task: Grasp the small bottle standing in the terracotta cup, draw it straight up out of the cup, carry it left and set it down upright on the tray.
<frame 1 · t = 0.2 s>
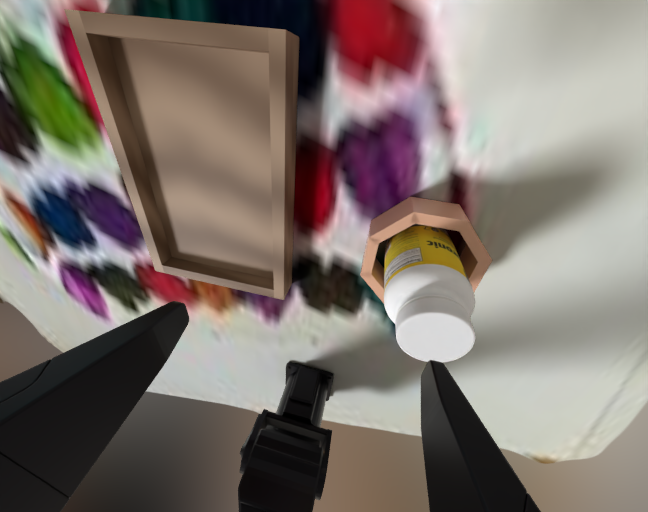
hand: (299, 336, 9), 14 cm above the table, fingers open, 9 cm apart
tray: (217, 179, 22), on the table
supplement bottle: (417, 246, 22), resting in cup
cup: (417, 248, 22), on the table
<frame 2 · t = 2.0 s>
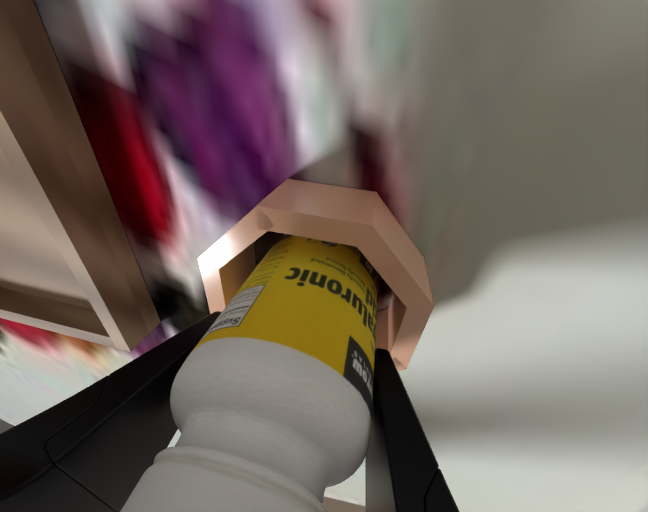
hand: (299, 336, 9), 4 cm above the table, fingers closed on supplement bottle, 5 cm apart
supplement bottle: (323, 269, 13), resting in cup, touching gripper
cup: (322, 271, 12), on the table
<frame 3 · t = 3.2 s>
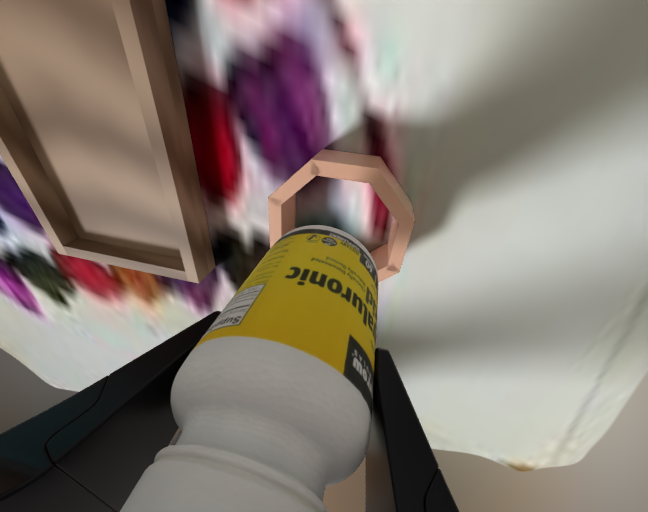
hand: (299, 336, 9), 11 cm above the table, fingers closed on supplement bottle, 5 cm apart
tray: (107, 139, 19), on the table
supplement bottle: (323, 268, 13), point 7 cm above the table, touching gripper
cup: (342, 216, 18), on the table
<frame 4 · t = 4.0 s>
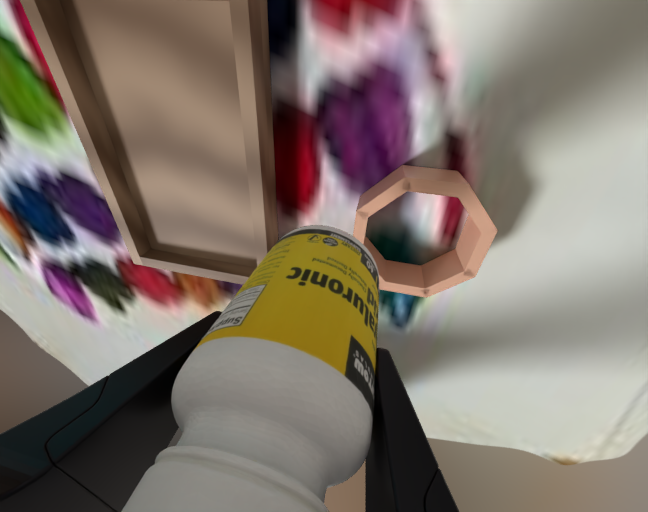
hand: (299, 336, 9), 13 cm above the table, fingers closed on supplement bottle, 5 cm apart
tray: (191, 158, 20), on the table
supplement bottle: (324, 268, 13), point 9 cm above the table, touching gripper
cup: (413, 225, 20), on the table
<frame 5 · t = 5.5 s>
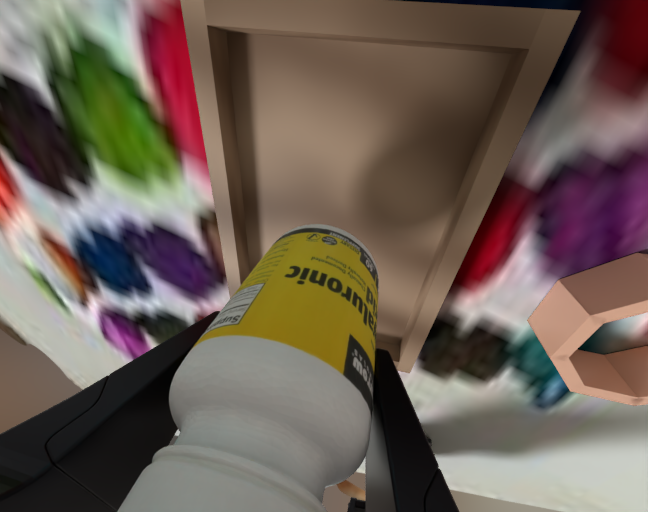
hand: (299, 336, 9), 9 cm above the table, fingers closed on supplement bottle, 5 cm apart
tray: (338, 224, 17), on the table
supplement bottle: (323, 268, 13), point 5 cm above the table, touching gripper
cup: (616, 315, 16), on the table
when the fingers open (6 cm above the table, at t = 6.5 s): supplement bottle stays where it is, resting on tray.
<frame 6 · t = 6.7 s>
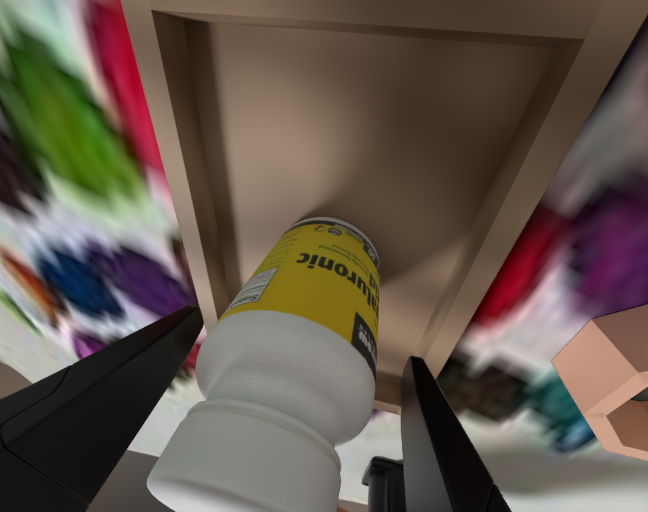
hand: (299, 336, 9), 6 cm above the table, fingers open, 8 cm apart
tray: (330, 250, 14), on the table
supplement bottle: (328, 259, 13), point 1 cm above the table, touching tray
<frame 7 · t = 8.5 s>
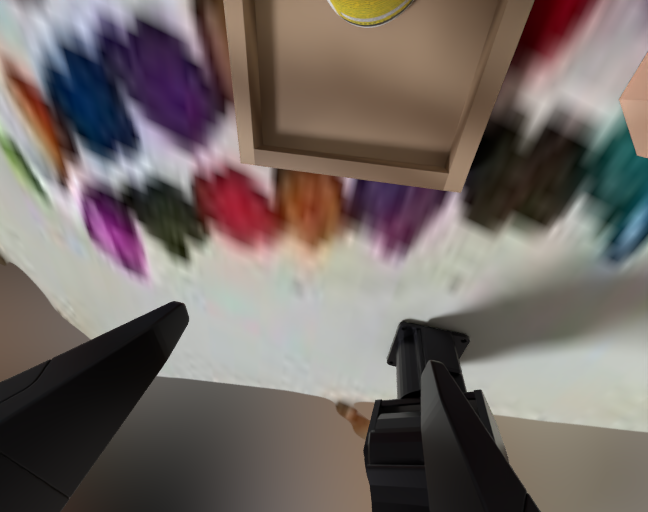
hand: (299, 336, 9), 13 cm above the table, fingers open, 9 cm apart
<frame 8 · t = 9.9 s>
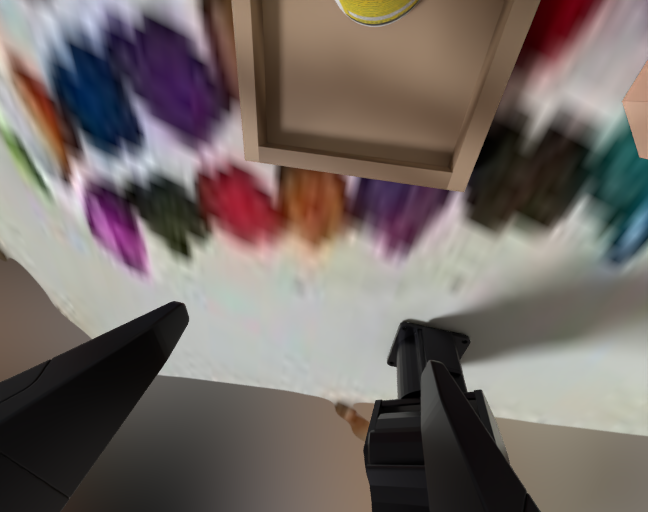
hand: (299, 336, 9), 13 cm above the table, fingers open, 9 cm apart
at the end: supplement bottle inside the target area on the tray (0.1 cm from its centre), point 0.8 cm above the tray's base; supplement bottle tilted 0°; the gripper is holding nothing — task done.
